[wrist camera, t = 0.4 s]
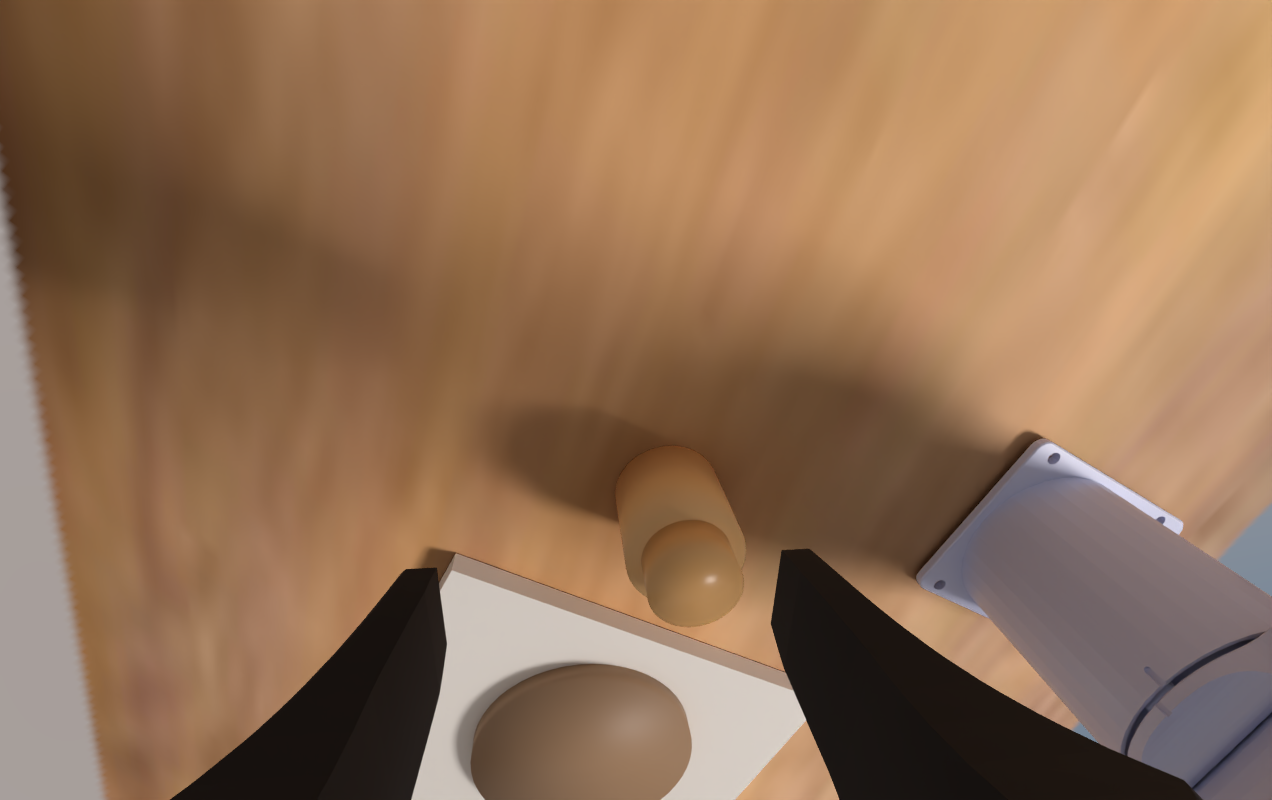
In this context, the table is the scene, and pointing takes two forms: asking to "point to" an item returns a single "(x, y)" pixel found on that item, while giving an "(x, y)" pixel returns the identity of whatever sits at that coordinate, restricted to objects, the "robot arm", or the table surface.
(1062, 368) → the table surface
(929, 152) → the table surface
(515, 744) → the plinth
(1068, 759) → the robot arm
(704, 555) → the stepped tan cylinder
